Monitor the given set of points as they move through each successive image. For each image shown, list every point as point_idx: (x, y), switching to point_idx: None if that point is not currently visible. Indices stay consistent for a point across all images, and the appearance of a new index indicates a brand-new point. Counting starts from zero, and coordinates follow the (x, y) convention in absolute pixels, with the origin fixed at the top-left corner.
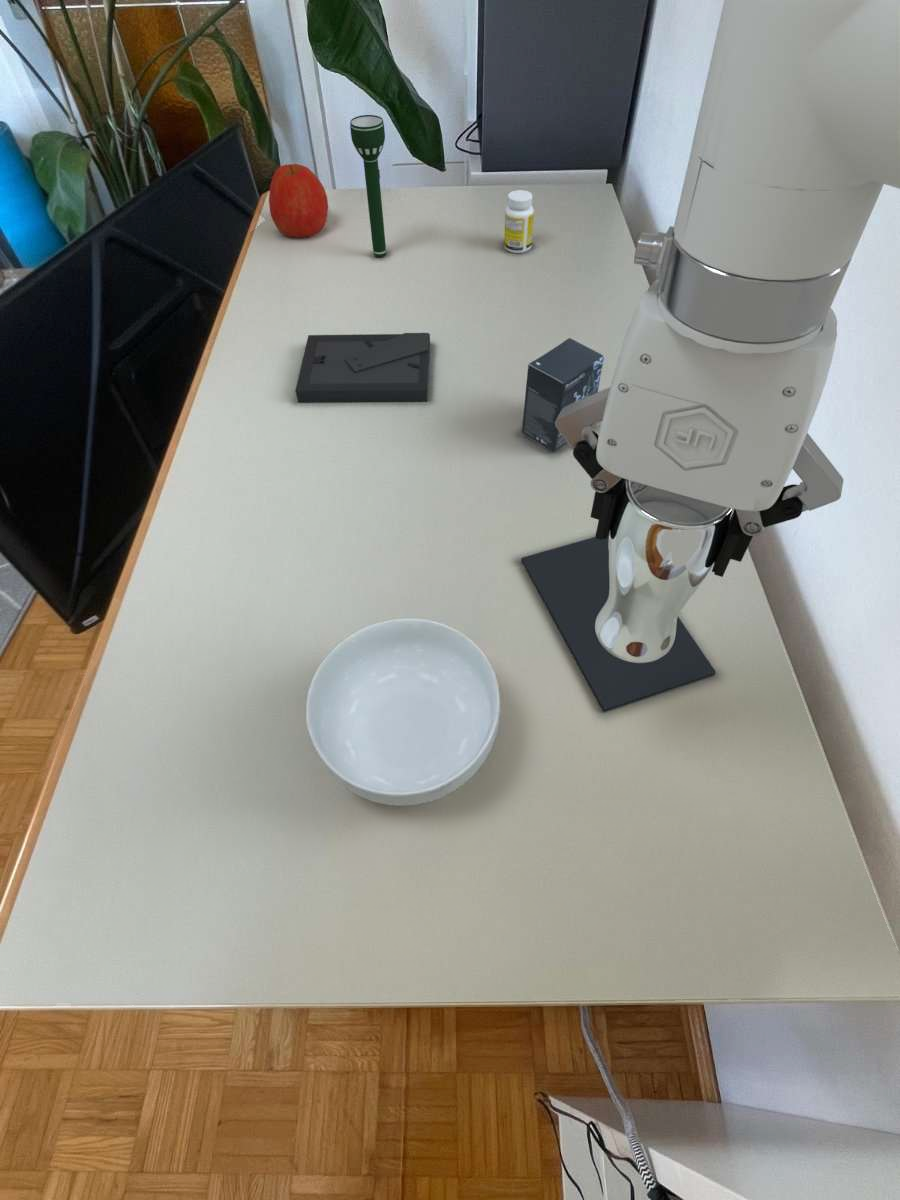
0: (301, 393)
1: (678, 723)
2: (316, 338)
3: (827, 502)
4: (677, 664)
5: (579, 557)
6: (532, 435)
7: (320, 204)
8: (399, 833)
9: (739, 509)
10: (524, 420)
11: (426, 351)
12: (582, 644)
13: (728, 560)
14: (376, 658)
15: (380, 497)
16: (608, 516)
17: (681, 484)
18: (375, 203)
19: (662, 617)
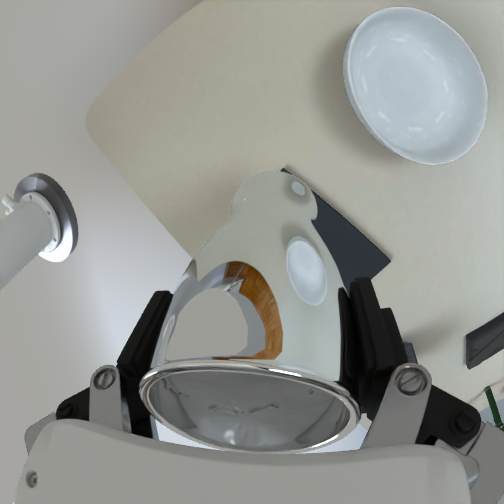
0: None
1: (231, 188)
2: None
3: (36, 424)
4: None
5: (351, 280)
6: (405, 345)
7: None
8: (364, 18)
9: (72, 425)
10: (413, 352)
11: (469, 360)
12: (322, 213)
13: (142, 316)
14: (454, 126)
15: (483, 261)
16: (366, 322)
17: (192, 490)
18: (494, 408)
19: (231, 216)
